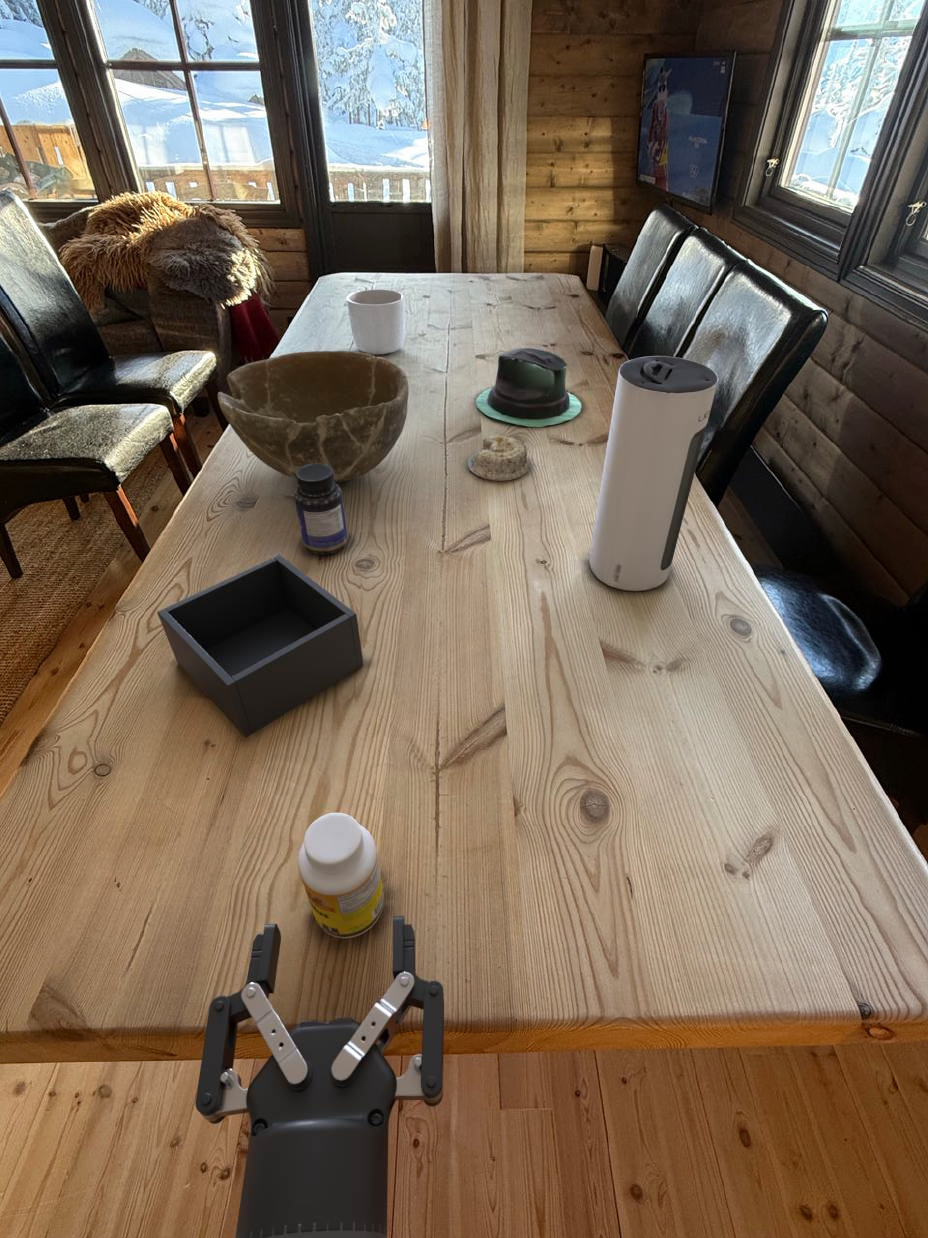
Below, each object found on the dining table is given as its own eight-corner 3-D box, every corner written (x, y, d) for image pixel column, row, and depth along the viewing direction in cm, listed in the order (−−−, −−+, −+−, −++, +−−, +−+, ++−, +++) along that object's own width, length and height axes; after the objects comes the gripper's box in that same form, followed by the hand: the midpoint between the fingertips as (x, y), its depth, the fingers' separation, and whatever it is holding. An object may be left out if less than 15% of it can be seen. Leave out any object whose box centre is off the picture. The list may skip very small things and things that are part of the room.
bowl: (219, 519, 95) (190, 420, 85) (257, 436, 115) (237, 349, 105) (410, 516, 95) (404, 417, 86) (415, 434, 116) (410, 346, 106)
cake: (528, 456, 111) (533, 426, 107) (527, 486, 103) (532, 455, 100) (470, 449, 111) (473, 418, 107) (464, 479, 103) (467, 447, 100)
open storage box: (245, 738, 65) (227, 686, 60) (177, 663, 73) (156, 611, 68) (363, 665, 72) (356, 613, 67) (290, 604, 80) (279, 554, 75)
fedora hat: (600, 390, 128) (567, 434, 115) (520, 418, 139) (481, 461, 126) (571, 314, 122) (532, 351, 108) (489, 351, 133) (445, 388, 120)
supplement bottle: (304, 892, 53) (281, 821, 46) (369, 861, 55) (356, 790, 48) (327, 955, 49) (305, 889, 42) (396, 921, 51) (385, 852, 44)
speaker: (646, 604, 80) (696, 395, 63) (572, 573, 85) (599, 371, 68) (681, 563, 87) (735, 363, 70) (610, 536, 91) (644, 343, 74)
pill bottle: (309, 531, 92) (296, 459, 85) (352, 532, 92) (342, 460, 85) (299, 556, 88) (284, 483, 81) (344, 557, 88) (333, 484, 80)
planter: (377, 362, 142) (372, 308, 135) (341, 349, 149) (334, 297, 141) (418, 348, 149) (416, 296, 142) (382, 335, 155) (378, 285, 148)
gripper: (452, 1227, 31) (439, 891, 43) (140, 1256, 30) (217, 905, 42) (454, 1248, 36) (441, 941, 48) (186, 1273, 35) (242, 955, 47)
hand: (336, 924), depth 45 cm, fingers open, 8 cm apart
